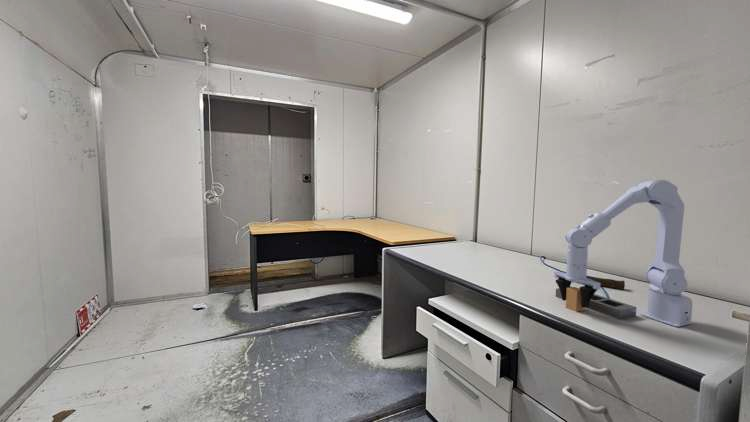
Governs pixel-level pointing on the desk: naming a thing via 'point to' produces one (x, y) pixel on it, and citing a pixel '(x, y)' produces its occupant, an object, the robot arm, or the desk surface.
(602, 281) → the hand tool
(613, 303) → the grey slotted block
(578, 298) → the peg
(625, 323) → the desk surface
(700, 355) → the desk surface
